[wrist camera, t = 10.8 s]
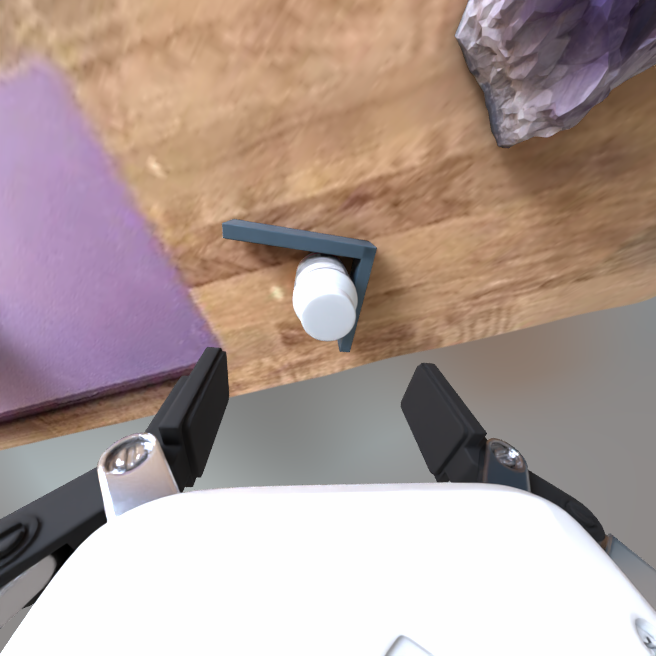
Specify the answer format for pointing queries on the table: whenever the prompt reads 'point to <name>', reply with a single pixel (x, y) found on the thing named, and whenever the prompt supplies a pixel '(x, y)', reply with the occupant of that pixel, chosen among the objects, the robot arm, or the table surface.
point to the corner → (312, 242)
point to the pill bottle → (324, 297)
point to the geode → (552, 58)
